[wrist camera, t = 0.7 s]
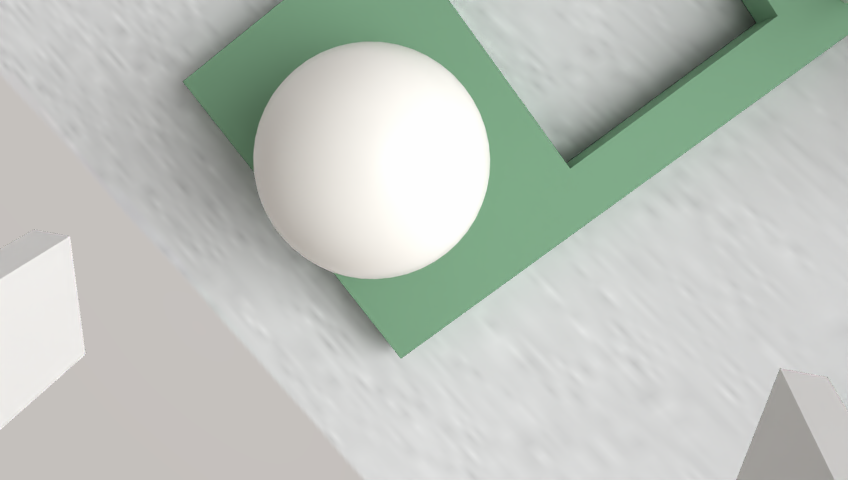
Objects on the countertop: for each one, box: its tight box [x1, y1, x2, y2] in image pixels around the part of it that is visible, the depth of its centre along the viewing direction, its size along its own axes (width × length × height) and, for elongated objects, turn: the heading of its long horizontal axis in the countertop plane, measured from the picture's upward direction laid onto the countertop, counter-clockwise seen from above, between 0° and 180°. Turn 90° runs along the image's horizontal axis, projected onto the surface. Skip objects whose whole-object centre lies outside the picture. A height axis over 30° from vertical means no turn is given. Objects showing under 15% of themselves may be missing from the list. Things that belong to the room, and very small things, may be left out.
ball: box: [253, 41, 490, 279], centre depth 27 cm, size 9×9×9 cm
